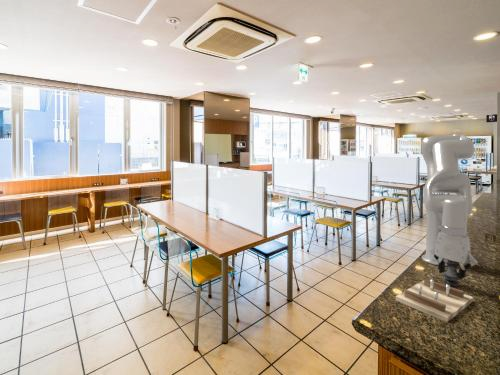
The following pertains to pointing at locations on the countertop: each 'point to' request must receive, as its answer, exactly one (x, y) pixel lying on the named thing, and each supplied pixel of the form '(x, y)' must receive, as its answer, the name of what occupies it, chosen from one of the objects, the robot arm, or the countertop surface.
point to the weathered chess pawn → (451, 273)
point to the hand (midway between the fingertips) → (451, 274)
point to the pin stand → (435, 299)
